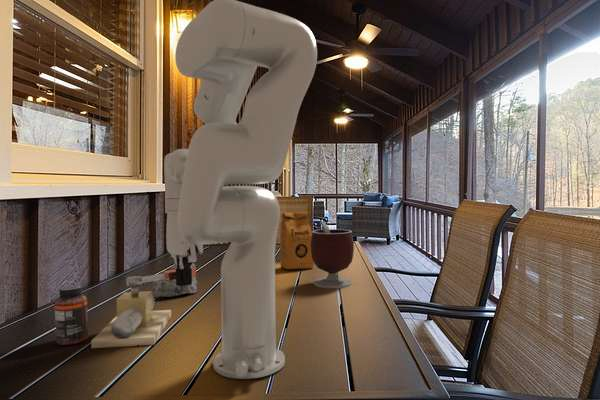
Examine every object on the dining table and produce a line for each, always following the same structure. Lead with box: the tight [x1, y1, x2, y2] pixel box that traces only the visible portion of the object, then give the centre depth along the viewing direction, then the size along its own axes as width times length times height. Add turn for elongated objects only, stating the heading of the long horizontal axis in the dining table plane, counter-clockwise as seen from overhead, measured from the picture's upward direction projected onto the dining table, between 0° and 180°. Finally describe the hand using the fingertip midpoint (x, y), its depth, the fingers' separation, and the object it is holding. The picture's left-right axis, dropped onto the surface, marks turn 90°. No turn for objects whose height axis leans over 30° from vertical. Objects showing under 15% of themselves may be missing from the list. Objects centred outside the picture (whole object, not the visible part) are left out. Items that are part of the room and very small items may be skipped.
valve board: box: [90, 309, 172, 349], centre depth 93 cm, size 19×12×2 cm, turn 7°
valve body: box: [111, 286, 156, 339], centre depth 93 cm, size 19×6×8 cm, turn 7°
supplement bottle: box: [54, 284, 89, 346], centre depth 87 cm, size 6×6×11 cm
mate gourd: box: [311, 220, 355, 289], centre depth 136 cm, size 16×14×20 cm
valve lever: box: [126, 268, 195, 288], centre depth 97 cm, size 16×3×2 cm, turn 135°
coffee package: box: [279, 211, 315, 271], centre depth 161 cm, size 10×12×22 cm
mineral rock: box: [151, 263, 199, 298], centre depth 123 cm, size 13×11×10 cm
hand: (184, 284), depth 97 cm, fingers closed
